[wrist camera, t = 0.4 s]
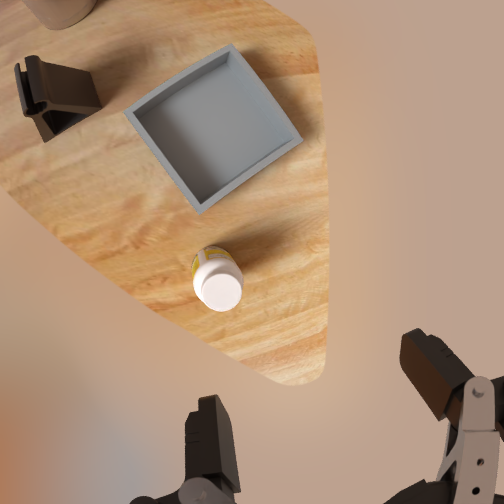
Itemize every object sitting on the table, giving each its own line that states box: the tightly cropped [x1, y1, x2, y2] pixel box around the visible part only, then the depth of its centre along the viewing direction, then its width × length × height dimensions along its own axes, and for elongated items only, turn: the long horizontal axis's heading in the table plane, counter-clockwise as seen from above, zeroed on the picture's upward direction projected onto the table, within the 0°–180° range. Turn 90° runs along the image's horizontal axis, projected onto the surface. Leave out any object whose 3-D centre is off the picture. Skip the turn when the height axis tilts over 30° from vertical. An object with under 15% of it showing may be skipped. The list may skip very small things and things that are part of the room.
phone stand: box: [14, 55, 102, 143], centre depth 24 cm, size 9×6×12 cm, turn 112°
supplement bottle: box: [192, 246, 243, 311], centre depth 34 cm, size 5×5×10 cm
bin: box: [123, 43, 304, 215], centre depth 32 cm, size 15×15×4 cm
